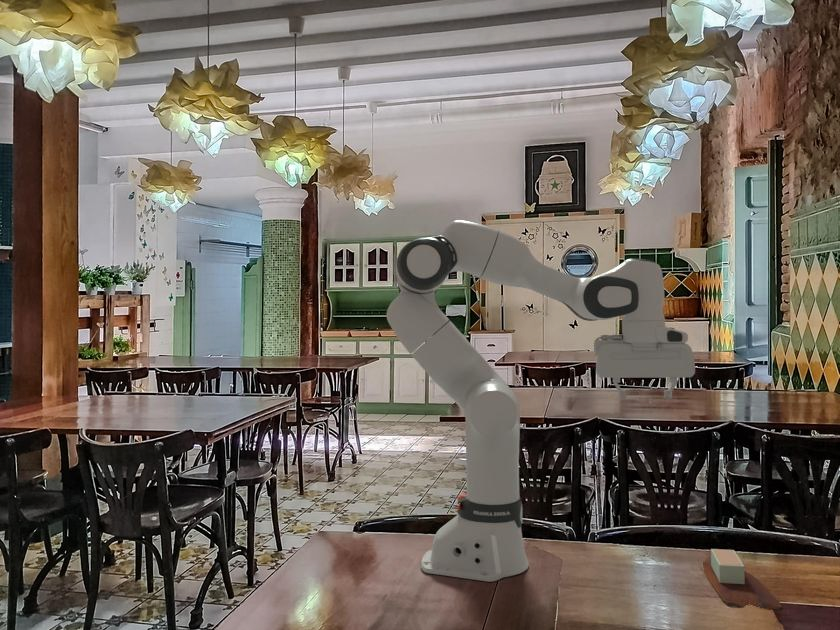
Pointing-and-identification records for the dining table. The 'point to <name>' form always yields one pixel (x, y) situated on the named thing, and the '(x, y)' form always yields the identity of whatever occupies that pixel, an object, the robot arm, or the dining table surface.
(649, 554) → the dining table surface
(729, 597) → the wooden tablet
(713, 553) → the sage card box
